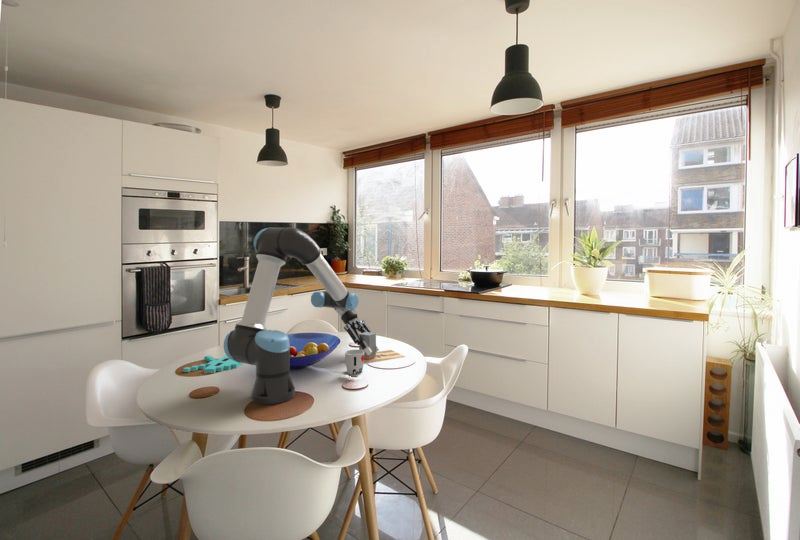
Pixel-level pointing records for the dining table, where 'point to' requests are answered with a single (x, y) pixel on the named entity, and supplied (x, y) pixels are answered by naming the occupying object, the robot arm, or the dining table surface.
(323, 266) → the robot arm
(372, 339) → the block
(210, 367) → the alien figure
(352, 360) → the cup
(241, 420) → the dining table surface
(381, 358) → the oak board
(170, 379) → the dining table surface
